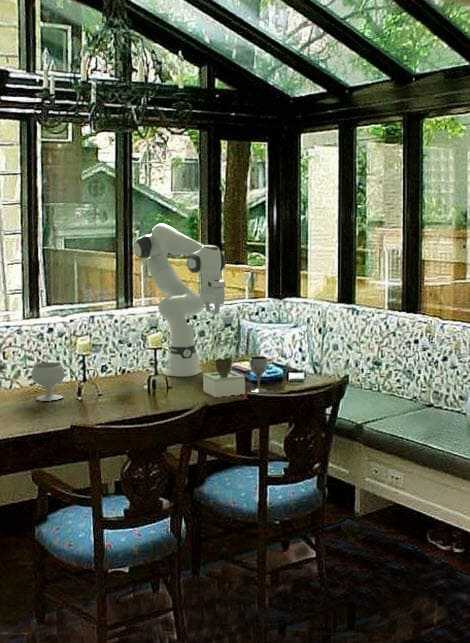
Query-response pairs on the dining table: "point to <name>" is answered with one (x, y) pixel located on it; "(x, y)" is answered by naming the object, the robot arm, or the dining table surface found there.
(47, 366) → the chalice
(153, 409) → the dining table surface
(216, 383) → the open grey box
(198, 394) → the dining table surface
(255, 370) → the wine glass
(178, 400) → the dining table surface
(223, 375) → the cup
